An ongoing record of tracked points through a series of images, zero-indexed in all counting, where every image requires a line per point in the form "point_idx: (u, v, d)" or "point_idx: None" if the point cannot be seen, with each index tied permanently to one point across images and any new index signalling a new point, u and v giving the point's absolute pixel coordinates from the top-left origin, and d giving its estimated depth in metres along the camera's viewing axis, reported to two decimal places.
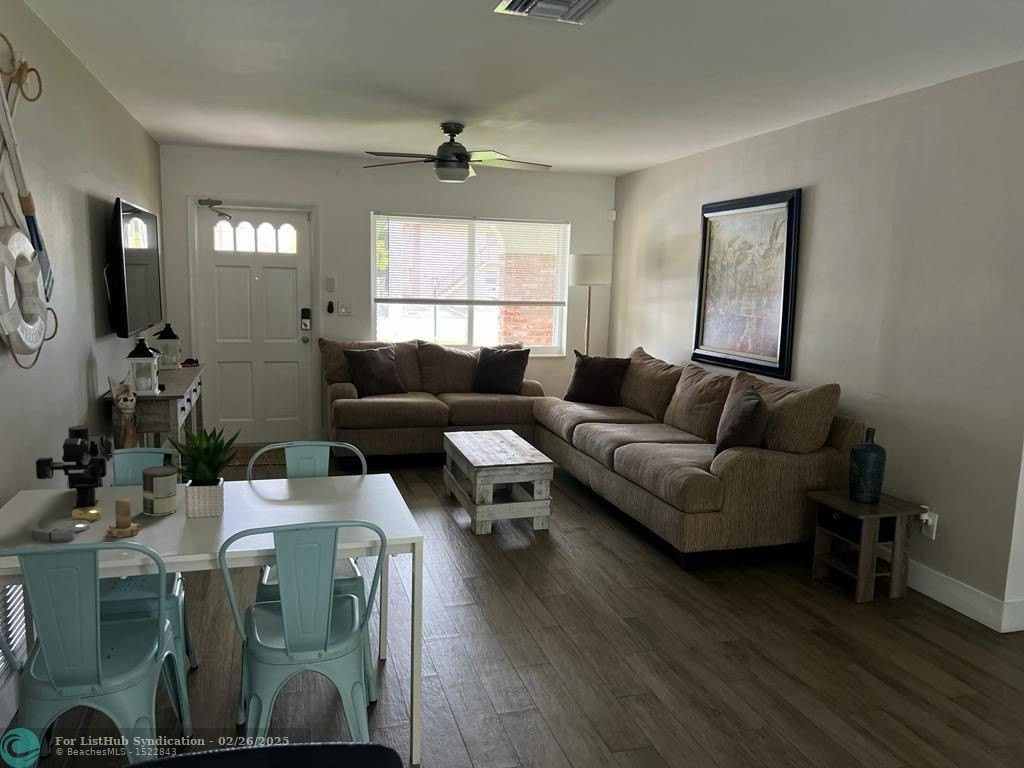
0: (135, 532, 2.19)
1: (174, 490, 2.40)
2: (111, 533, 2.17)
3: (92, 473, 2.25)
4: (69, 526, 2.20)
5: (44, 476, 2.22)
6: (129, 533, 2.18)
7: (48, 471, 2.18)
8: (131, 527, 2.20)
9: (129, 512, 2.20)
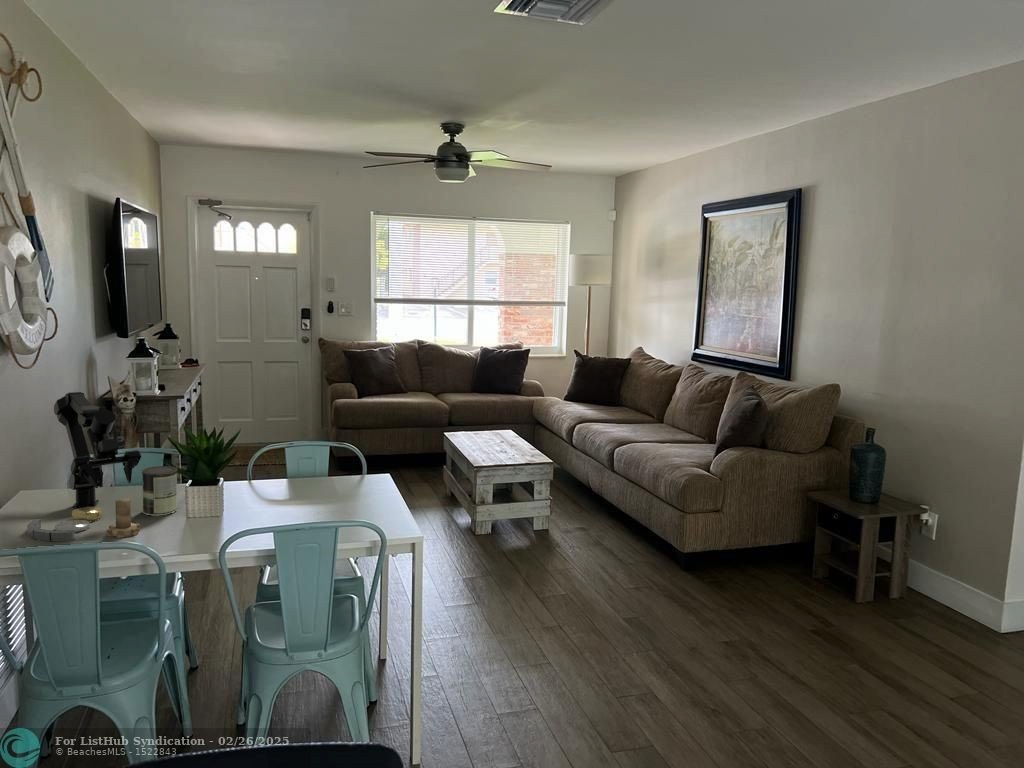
0: (135, 532, 2.19)
1: (174, 490, 2.40)
2: (111, 533, 2.17)
3: None
4: (69, 526, 2.20)
5: (81, 474, 2.22)
6: (129, 533, 2.18)
7: (95, 480, 2.20)
8: (131, 527, 2.20)
9: (129, 512, 2.20)
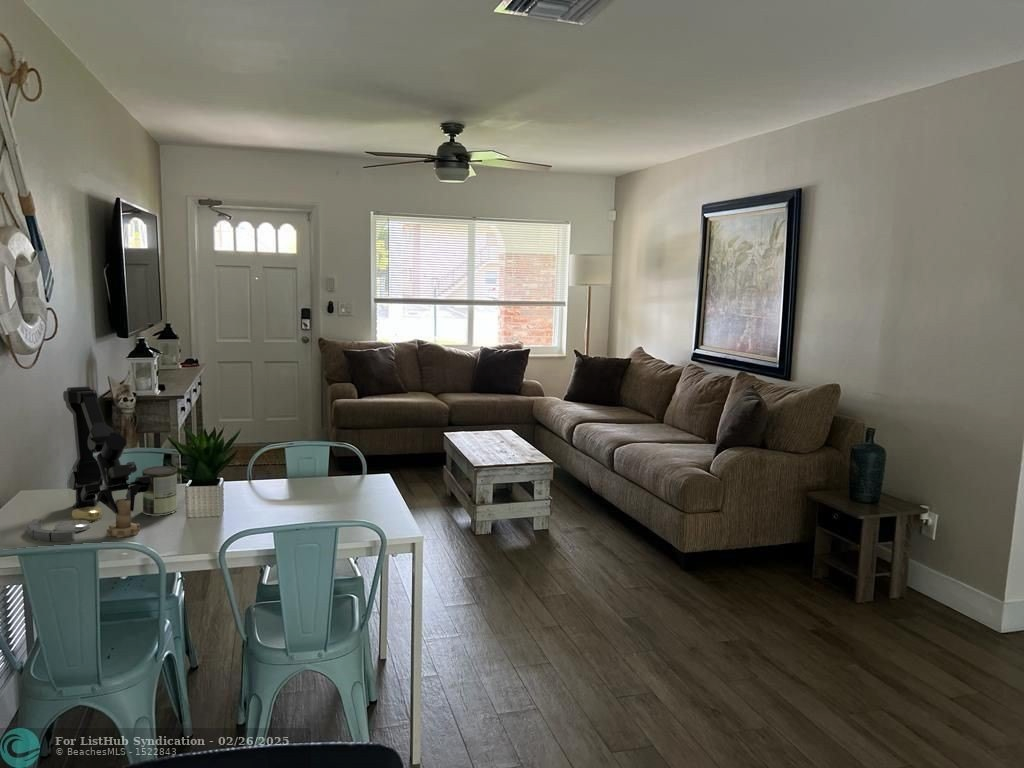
0: (135, 532, 2.19)
1: (174, 490, 2.40)
2: (111, 533, 2.17)
3: None
4: (69, 526, 2.20)
5: (100, 499, 2.19)
6: (129, 533, 2.18)
7: (115, 506, 2.17)
8: (131, 527, 2.20)
9: (129, 512, 2.20)
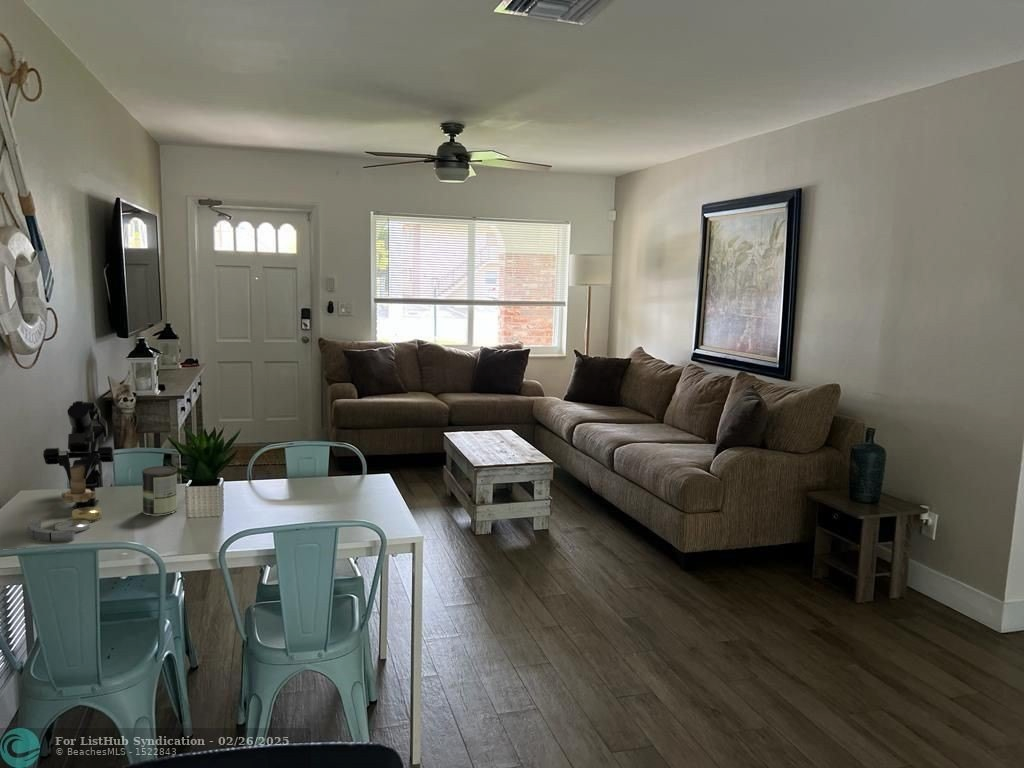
0: (83, 499, 2.26)
1: (174, 490, 2.40)
2: (64, 497, 2.27)
3: (92, 465, 2.32)
4: (69, 526, 2.20)
5: (62, 464, 2.30)
6: (78, 499, 2.26)
7: (68, 472, 2.26)
8: (82, 494, 2.27)
9: (81, 479, 2.27)
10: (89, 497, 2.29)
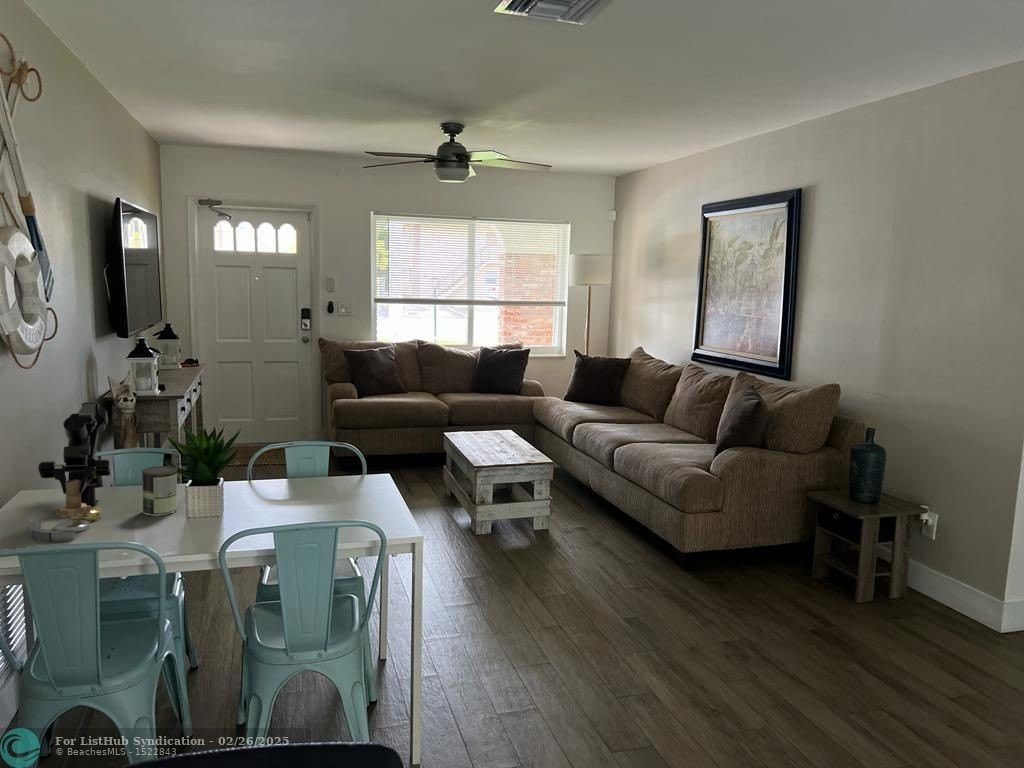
0: (79, 514, 2.21)
1: (174, 490, 2.40)
2: (59, 512, 2.22)
3: (88, 479, 2.27)
4: (69, 526, 2.20)
5: (58, 478, 2.25)
6: (73, 514, 2.21)
7: (63, 486, 2.21)
8: (78, 508, 2.22)
9: (77, 493, 2.22)
10: (85, 512, 2.24)
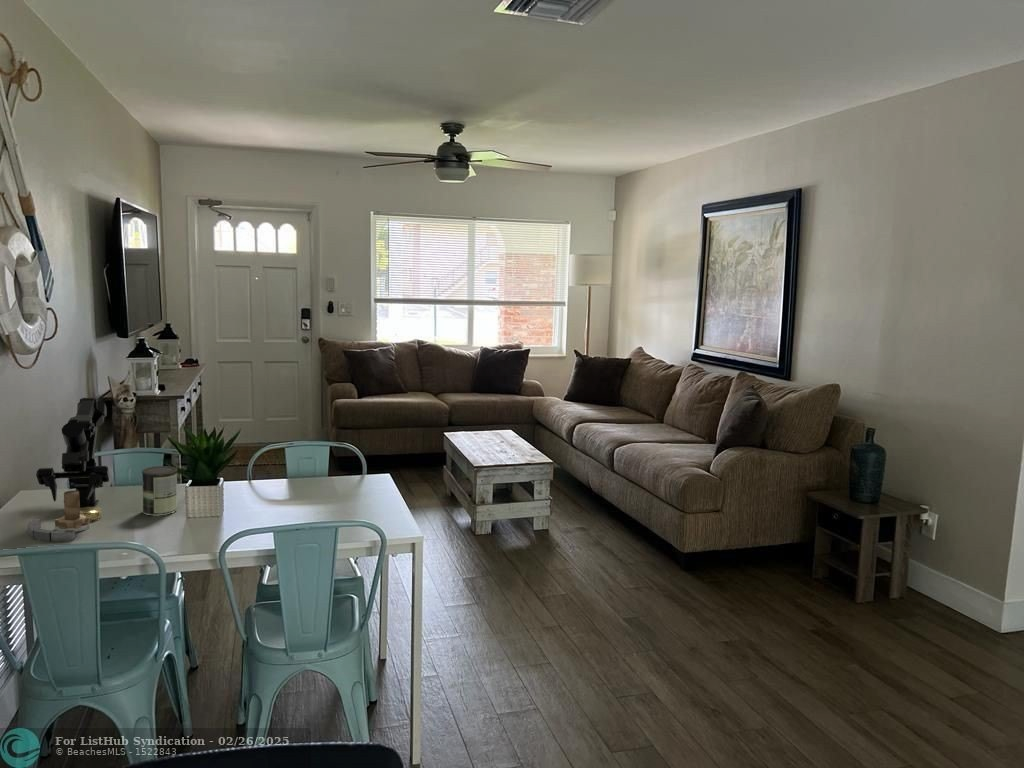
0: (77, 525, 2.19)
1: (174, 490, 2.40)
2: (57, 523, 2.20)
3: (94, 485, 2.25)
4: None
5: (48, 485, 2.22)
6: (72, 525, 2.19)
7: (54, 493, 2.18)
8: (76, 520, 2.20)
9: (75, 504, 2.20)
10: (83, 523, 2.22)
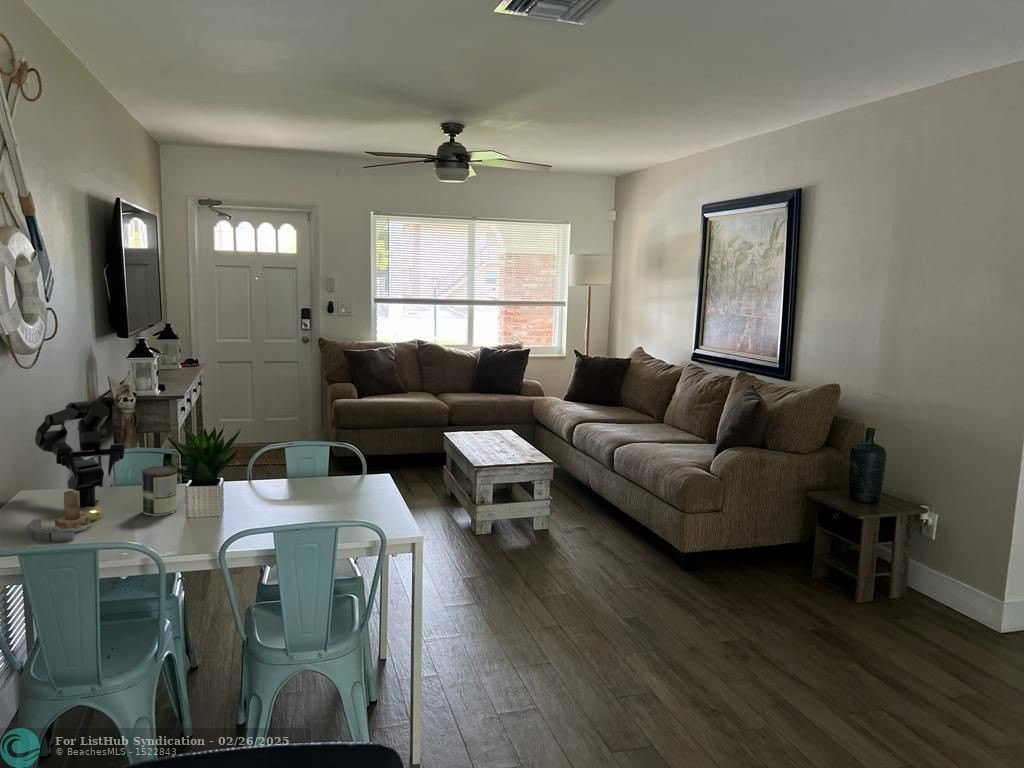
0: (77, 525, 2.19)
1: (174, 490, 2.40)
2: (57, 523, 2.20)
3: (113, 462, 2.37)
4: None
5: (65, 464, 2.30)
6: (72, 525, 2.19)
7: (74, 471, 2.28)
8: (76, 520, 2.20)
9: (75, 504, 2.20)
10: (83, 523, 2.22)
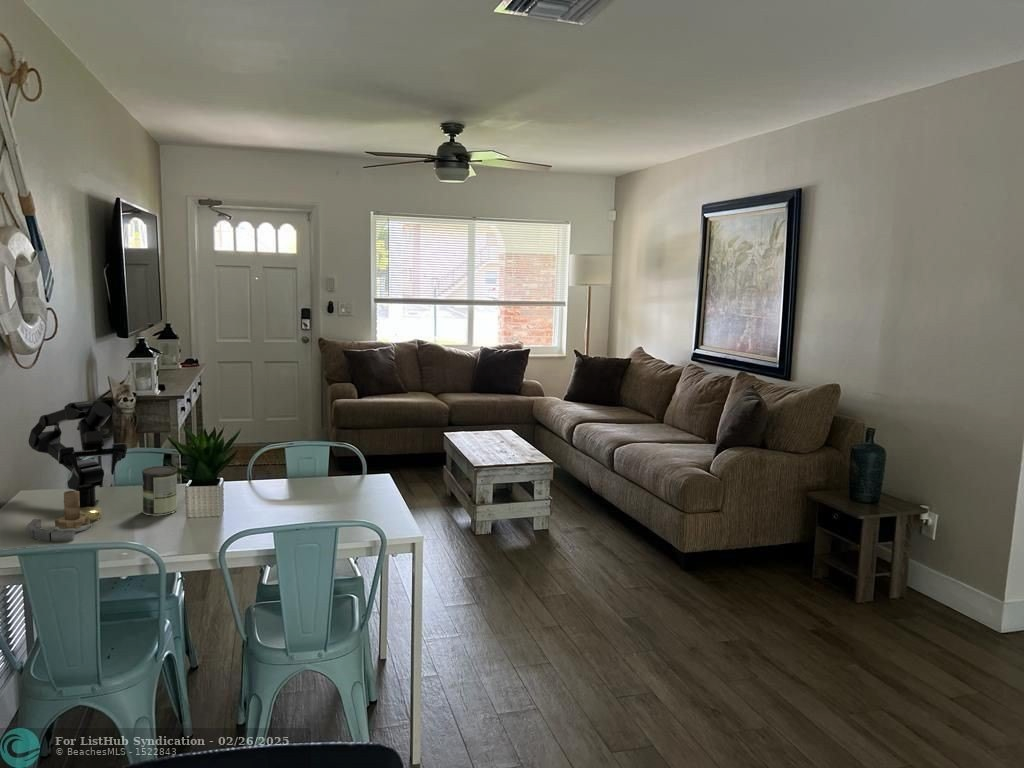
0: (77, 525, 2.19)
1: (174, 490, 2.40)
2: (57, 523, 2.20)
3: None
4: None
5: (67, 464, 2.31)
6: (72, 525, 2.19)
7: (78, 470, 2.28)
8: (76, 520, 2.20)
9: (75, 504, 2.20)
10: (83, 523, 2.22)
